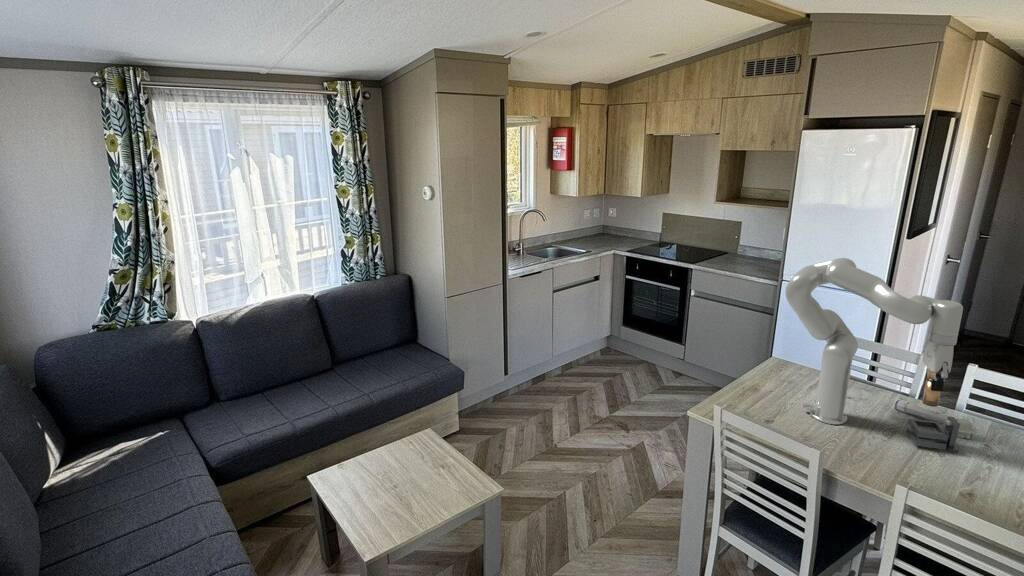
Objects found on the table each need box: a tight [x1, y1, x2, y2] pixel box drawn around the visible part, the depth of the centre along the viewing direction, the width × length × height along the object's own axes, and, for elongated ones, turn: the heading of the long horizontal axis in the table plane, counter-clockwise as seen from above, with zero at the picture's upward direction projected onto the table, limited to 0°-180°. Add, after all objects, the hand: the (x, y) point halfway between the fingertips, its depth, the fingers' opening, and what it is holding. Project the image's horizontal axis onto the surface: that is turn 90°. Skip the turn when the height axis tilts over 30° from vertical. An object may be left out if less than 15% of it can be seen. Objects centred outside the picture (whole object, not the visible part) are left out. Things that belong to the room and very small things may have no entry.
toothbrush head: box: [894, 400, 976, 440], centre depth 201 cm, size 5×7×25 cm
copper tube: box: [922, 368, 942, 408], centre depth 183 cm, size 4×4×14 cm
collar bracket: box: [905, 416, 960, 454], centre depth 188 cm, size 9×13×10 cm
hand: (933, 386), depth 184 cm, fingers closed on copper tube, 4 cm apart
